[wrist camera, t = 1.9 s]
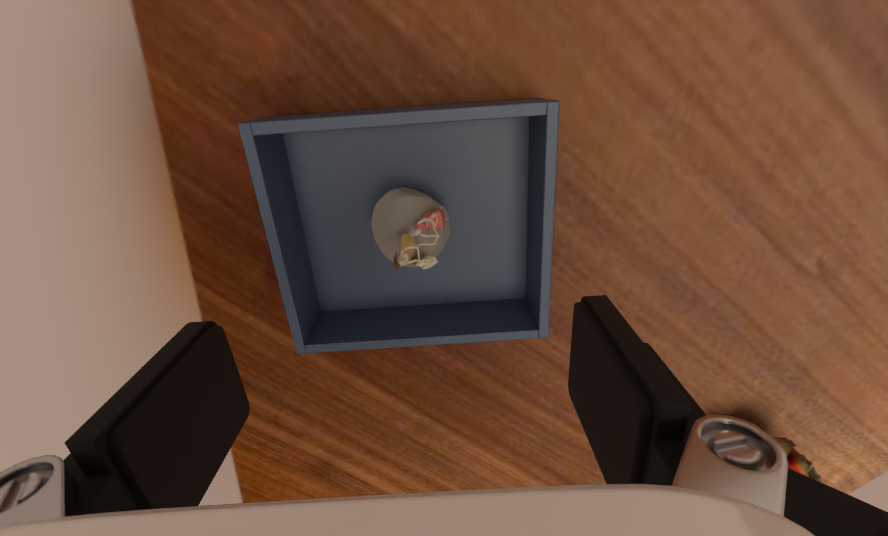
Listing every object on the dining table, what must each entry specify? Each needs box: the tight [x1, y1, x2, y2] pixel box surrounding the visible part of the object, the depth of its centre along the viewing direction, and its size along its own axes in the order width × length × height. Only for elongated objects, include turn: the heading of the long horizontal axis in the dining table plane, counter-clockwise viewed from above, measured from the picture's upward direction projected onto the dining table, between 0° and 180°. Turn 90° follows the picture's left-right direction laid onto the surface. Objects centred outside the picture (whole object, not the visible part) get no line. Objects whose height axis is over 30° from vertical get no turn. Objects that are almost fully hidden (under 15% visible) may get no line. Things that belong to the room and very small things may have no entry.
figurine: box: [372, 187, 450, 270], centre depth 23 cm, size 5×4×6 cm
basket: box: [238, 98, 560, 354], centre depth 24 cm, size 15×13×5 cm
